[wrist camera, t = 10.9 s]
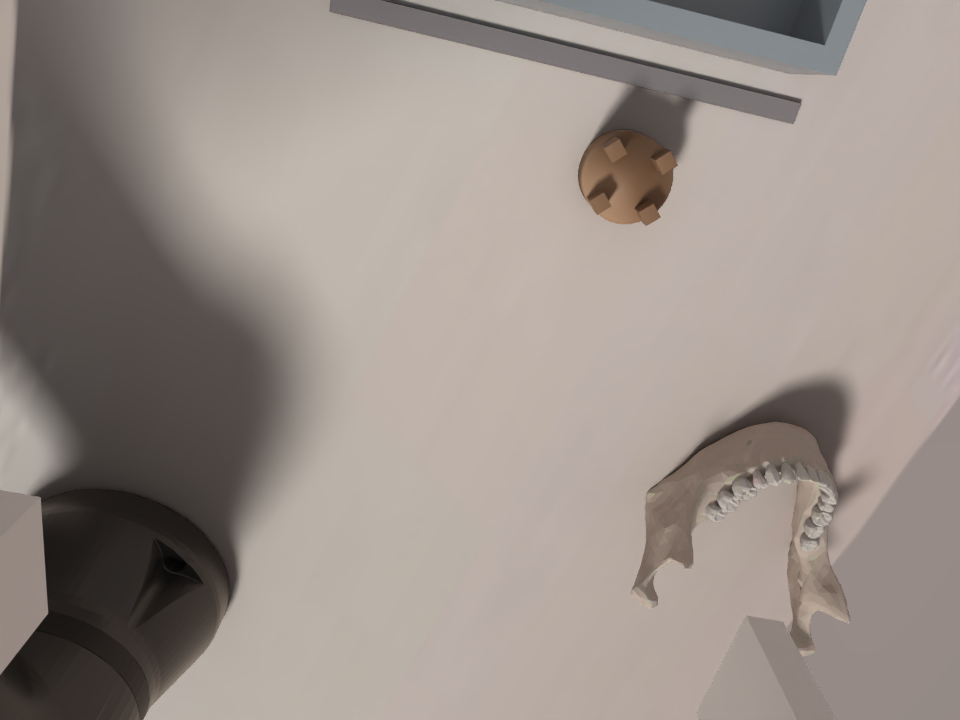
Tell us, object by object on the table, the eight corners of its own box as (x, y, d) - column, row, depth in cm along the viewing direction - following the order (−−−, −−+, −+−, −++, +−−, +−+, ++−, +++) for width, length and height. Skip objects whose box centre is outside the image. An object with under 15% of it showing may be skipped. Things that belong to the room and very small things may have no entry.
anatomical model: (890, 447, 41) (946, 603, 34) (778, 523, 49) (806, 662, 42) (709, 384, 39) (730, 535, 32) (621, 473, 47) (624, 611, 40)
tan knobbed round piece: (602, 229, 36) (614, 245, 33) (563, 160, 35) (571, 169, 32) (674, 185, 35) (693, 197, 32) (637, 112, 34) (653, 117, 31)
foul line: (330, 11, 32) (329, 11, 32) (332, -12, 32) (332, -12, 31) (791, 123, 34) (793, 124, 34) (799, 103, 34) (801, 103, 34)
